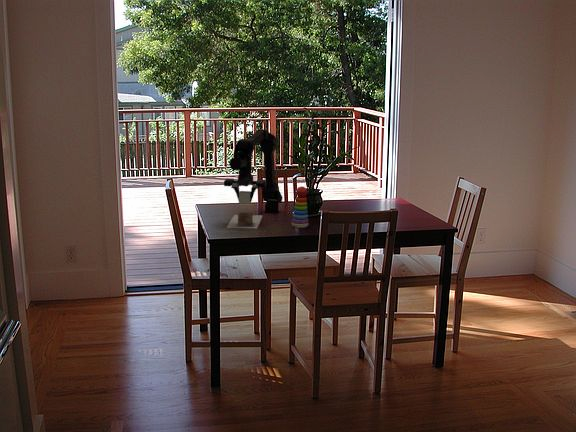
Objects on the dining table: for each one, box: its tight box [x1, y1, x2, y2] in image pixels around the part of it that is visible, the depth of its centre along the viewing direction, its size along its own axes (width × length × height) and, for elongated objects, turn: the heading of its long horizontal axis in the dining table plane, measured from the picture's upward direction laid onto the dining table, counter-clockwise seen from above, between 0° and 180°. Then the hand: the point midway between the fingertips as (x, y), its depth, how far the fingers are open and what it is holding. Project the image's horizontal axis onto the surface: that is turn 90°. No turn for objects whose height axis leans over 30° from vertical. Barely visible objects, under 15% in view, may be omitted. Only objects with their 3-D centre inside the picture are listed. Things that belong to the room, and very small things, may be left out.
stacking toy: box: [291, 186, 309, 229], centre depth 318 cm, size 8×8×19 cm
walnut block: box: [237, 212, 254, 226], centre depth 317 cm, size 6×6×5 cm
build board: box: [225, 214, 263, 229], centre depth 325 cm, size 14×27×1 cm, turn 176°
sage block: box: [238, 190, 252, 205], centre depth 315 cm, size 5×5×5 cm
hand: (245, 201), depth 315 cm, fingers closed on sage block, 5 cm apart
